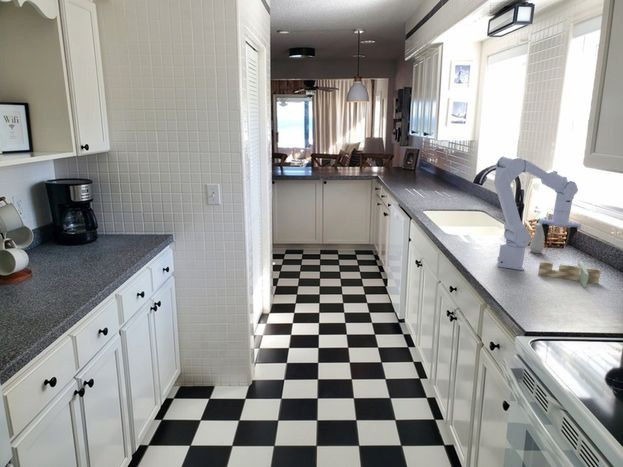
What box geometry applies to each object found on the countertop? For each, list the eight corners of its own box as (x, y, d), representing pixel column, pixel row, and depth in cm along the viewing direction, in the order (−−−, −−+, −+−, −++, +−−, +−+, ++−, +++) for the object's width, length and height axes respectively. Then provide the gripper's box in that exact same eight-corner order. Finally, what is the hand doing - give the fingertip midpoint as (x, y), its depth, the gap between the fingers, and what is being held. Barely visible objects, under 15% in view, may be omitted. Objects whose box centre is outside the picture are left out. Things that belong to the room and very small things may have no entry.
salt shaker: (544, 254, 208) (549, 225, 204) (530, 253, 209) (535, 224, 205) (540, 251, 213) (545, 222, 210) (527, 249, 214) (531, 221, 211)
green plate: (576, 273, 183) (578, 261, 182) (579, 274, 183) (582, 262, 181) (582, 287, 169) (584, 273, 167) (586, 287, 168) (588, 274, 167)
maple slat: (538, 274, 180) (540, 262, 179) (538, 273, 181) (540, 261, 180) (598, 283, 173) (600, 270, 172) (597, 282, 174) (600, 269, 173)
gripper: (542, 210, 184) (536, 243, 188) (584, 214, 179) (578, 249, 183) (541, 207, 191) (535, 239, 194) (581, 211, 186) (575, 244, 189)
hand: (556, 244), depth 189 cm, fingers open, 7 cm apart
